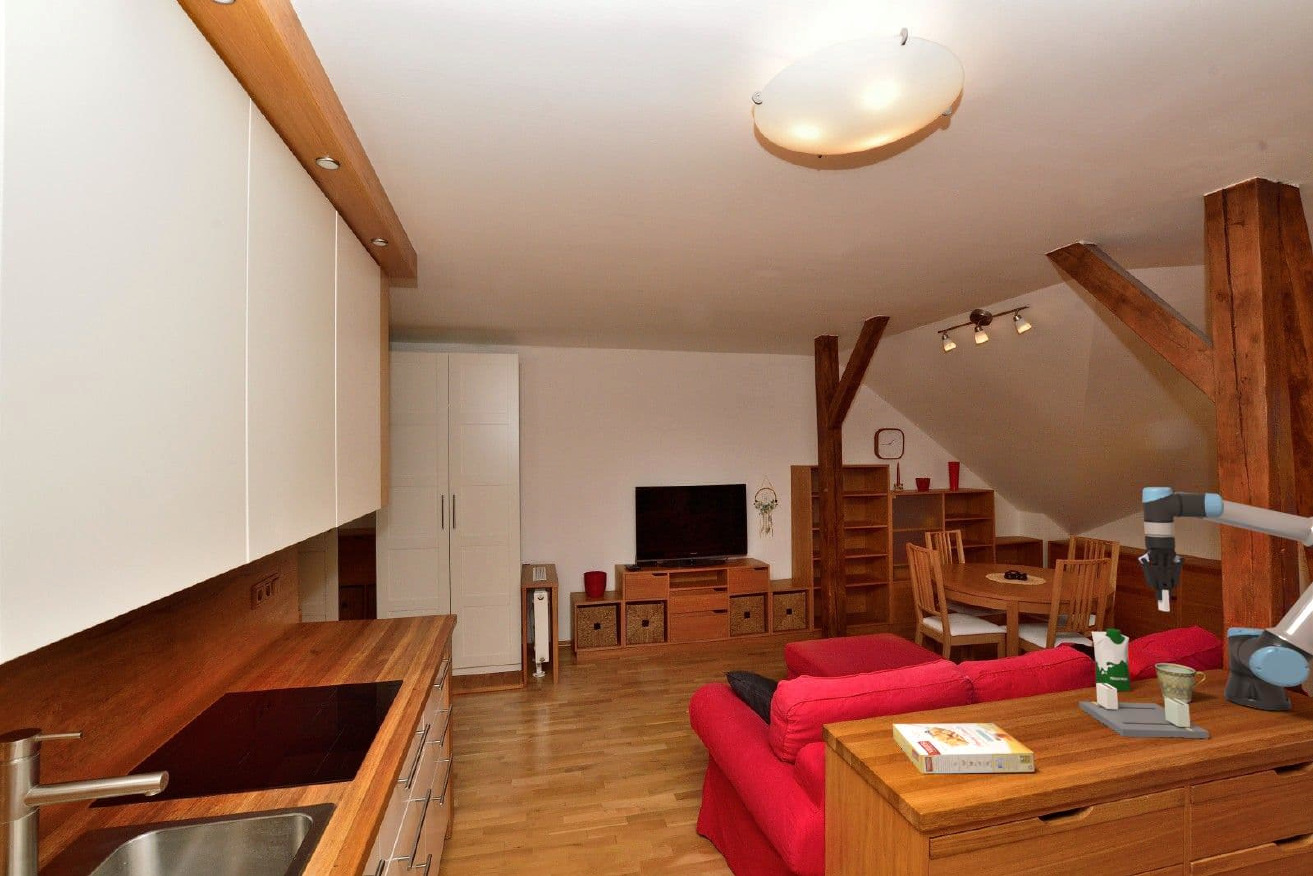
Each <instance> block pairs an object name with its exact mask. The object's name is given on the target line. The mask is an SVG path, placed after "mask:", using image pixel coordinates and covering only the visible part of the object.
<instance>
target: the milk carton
mask: <svg viewBox="0 0 1313 876" xmlns="http://www.w3.org/2000/svg"><path fill="white" fill-rule="evenodd" d="M1105 630H1106V631H1091V636H1092V640H1093V645H1094V647H1093V648H1094V665H1095V684H1096V683H1107V684H1109V685H1111V686H1112V687H1114V688H1116V689H1117V691H1131V681H1130V679H1131V678H1130V667H1129V666H1130V664H1129V642H1130V638H1129V637H1128V636H1126V635H1123V634H1122V630H1121V629H1118V628H1117V629H1116V628H1106V629H1105Z"/></svg>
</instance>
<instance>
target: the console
mask: <svg viewBox="0 0 1313 876" xmlns="http://www.w3.org/2000/svg"><path fill="white" fill-rule="evenodd" d="M1078 704H1079V706H1078V707H1079V709H1080V708H1081V710H1082V711H1083V710H1084V712H1085V713H1086V712H1087V713H1086V714H1088V715H1089V714H1090V716H1091V717H1092V718H1094V719H1096V720H1097V721H1098V720H1099V721H1098V722H1100V723H1101V724H1103V723H1104V724H1105V726H1106V725H1107V726H1108V727H1107V726H1106V727H1107V728H1109V729H1110V728H1111V730H1112V731H1113V730H1114V731H1113V732H1115V733H1116V732H1117V733H1116V734H1118V735H1119V734H1120V735H1119V736H1121V737H1125V738H1127V737H1129V738H1150V737H1185V738H1209V739H1210V734H1209V733H1210V732H1209V731H1208V730H1206V729H1204V728H1202V727H1200V726H1198V725H1196V724H1194V723H1193V722H1191V721H1190V727H1178V726H1176V725H1175V724H1173V723H1171V722H1169V721H1167V720H1166V717H1165V707H1162V706H1161V705H1159V704H1158V703H1153V702H1119V701H1118V709H1106V708H1105V707H1103V706H1102V705H1100V704H1098V703H1097V701H1081V700H1080V701H1078ZM1104 724H1103V725H1104Z"/></svg>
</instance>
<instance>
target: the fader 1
mask: <svg viewBox="0 0 1313 876" xmlns="http://www.w3.org/2000/svg"><path fill="white" fill-rule="evenodd" d="M1095 685H1096V686H1095V687H1096V702H1097V703H1098V704H1100V705H1102V706H1103V707H1105V708H1106V709H1118V702H1119V701H1118V692H1117V689H1116V688H1114V687H1112V686H1111V685H1109V684H1107V683H1096V682H1095Z"/></svg>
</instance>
